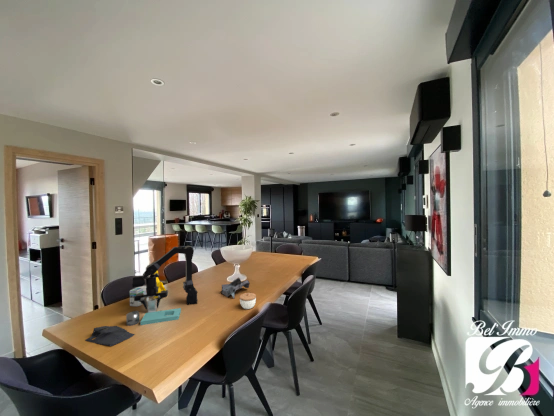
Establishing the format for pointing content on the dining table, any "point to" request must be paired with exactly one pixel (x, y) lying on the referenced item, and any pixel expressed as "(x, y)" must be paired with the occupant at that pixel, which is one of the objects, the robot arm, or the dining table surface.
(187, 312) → the dining table surface
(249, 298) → the lidded jar
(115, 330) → the dark slate chunk
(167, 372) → the dining table surface
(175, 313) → the bore block
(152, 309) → the square bit
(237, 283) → the dark grey angular piece
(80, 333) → the dining table surface
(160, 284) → the figure statuette
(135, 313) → the round bit
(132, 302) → the light bulb box
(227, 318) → the dining table surface
